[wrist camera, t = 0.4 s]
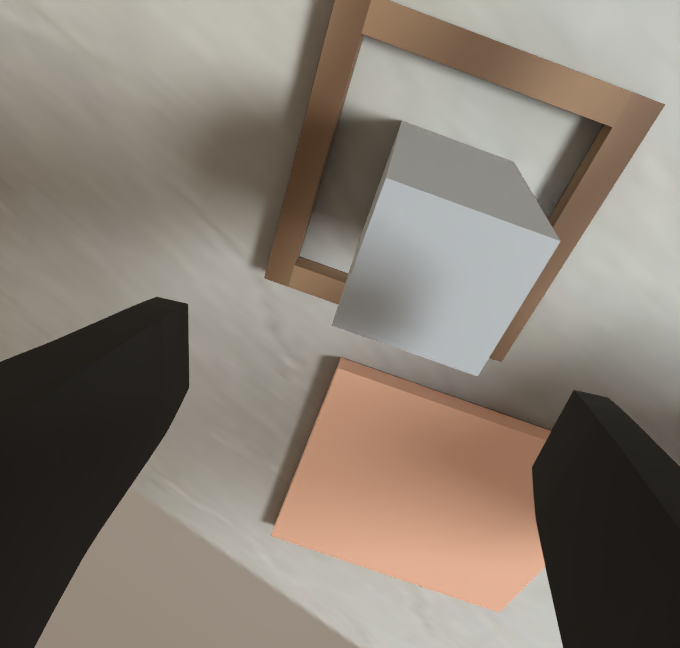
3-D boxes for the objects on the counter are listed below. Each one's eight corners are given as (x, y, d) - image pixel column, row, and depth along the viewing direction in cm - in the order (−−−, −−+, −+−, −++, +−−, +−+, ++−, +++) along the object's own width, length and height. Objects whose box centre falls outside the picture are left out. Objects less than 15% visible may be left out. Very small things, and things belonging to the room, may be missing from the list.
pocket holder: (654, 101, 15) (665, 104, 14) (498, 350, 20) (501, 362, 20) (343, -17, 15) (339, -19, 14) (269, 269, 20) (264, 278, 19)
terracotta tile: (632, 459, 22) (639, 473, 22) (497, 599, 29) (499, 612, 29) (340, 357, 22) (337, 368, 21) (274, 523, 29) (271, 536, 28)
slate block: (514, 161, 16) (560, 241, 11) (462, 263, 19) (477, 376, 13) (401, 120, 16) (386, 177, 10) (363, 228, 18) (331, 325, 13)
